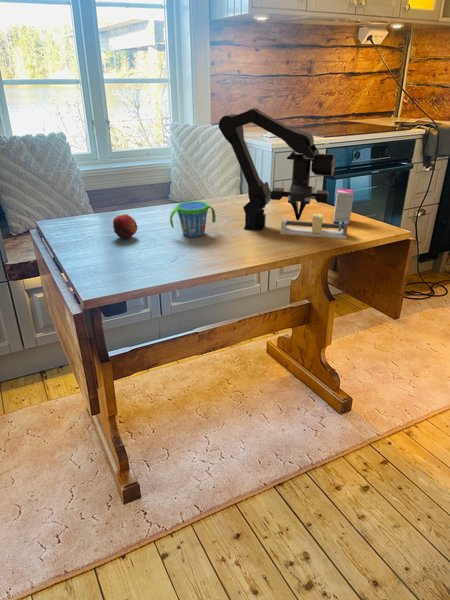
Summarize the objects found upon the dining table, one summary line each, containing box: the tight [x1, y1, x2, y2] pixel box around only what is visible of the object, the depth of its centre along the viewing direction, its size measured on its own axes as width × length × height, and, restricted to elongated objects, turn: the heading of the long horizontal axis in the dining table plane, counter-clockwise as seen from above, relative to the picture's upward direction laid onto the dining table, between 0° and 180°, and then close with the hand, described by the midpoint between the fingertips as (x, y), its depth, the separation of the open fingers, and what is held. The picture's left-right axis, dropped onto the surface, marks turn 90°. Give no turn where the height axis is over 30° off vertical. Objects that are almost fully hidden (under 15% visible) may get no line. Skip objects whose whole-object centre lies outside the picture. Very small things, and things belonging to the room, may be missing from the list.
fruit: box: [112, 213, 138, 240], centre depth 154 cm, size 8×8×8 cm
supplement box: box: [332, 188, 355, 225], centre depth 169 cm, size 6×6×12 cm
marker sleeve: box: [311, 213, 324, 233], centre depth 157 cm, size 3×5×5 cm, turn 166°
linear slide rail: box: [280, 218, 349, 240], centre depth 158 cm, size 22×6×5 cm, turn 76°
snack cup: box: [169, 200, 217, 238], centre depth 157 cm, size 16×10×10 cm
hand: (297, 220), depth 159 cm, fingers closed
